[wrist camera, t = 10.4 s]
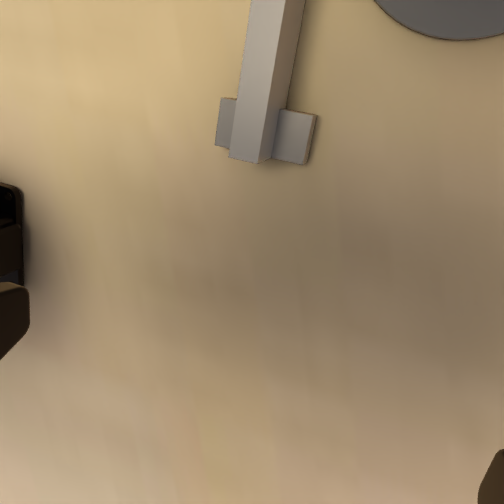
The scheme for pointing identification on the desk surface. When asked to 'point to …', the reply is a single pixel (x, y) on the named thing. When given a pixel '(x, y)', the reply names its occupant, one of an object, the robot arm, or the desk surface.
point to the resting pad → (448, 17)
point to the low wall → (267, 90)
